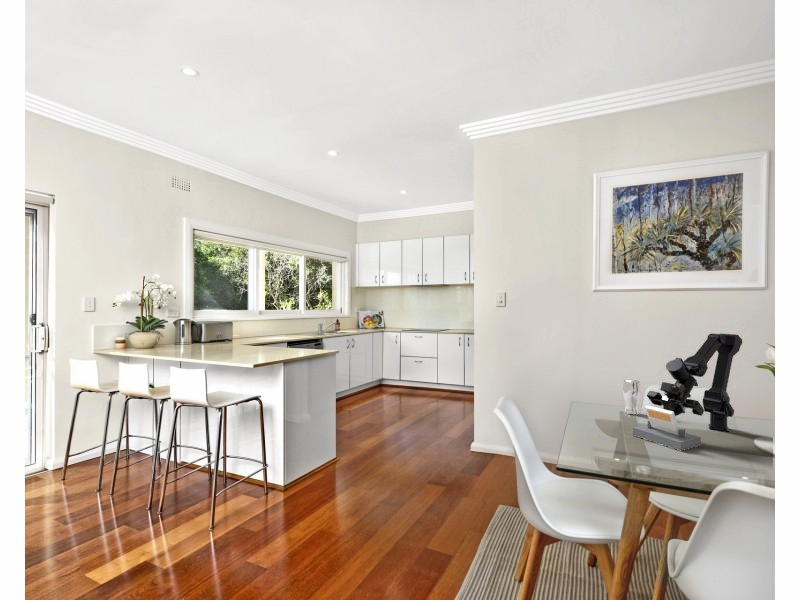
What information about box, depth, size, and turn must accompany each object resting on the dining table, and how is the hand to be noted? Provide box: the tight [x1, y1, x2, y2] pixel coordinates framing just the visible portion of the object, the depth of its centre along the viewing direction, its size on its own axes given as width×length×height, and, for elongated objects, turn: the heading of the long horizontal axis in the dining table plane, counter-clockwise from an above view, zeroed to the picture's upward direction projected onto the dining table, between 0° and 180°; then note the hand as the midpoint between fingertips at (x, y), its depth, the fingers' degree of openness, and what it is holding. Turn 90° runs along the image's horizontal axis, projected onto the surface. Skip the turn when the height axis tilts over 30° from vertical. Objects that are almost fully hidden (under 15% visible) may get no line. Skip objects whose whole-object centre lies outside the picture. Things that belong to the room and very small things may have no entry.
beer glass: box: [622, 379, 641, 414], centre depth 197 cm, size 7×7×15 cm
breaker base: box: [632, 420, 702, 451], centre depth 161 cm, size 12×18×6 cm, turn 26°
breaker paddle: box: [644, 405, 680, 435], centre depth 160 cm, size 2×10×9 cm, turn 25°
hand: (664, 420), depth 160 cm, fingers closed, pressing on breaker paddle
